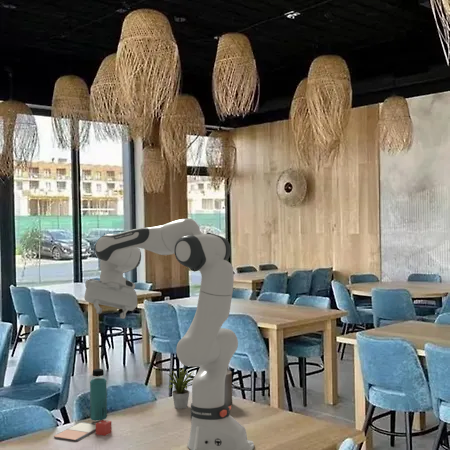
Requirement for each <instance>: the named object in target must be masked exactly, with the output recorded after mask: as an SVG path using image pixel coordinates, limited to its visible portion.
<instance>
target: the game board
mask: <svg viewBox="0 0 450 450" xmlns="http://www.w3.org/2000/svg"><path fill="white" fill-rule="evenodd" d="M94 432H95V433H96V423H92V422H85V421H80V422H78V423H76V424H74V425H73V426H71V427H68V428H66V429H65V430H63V431H60V432H59V433H56V434H55V435H54V436H53V438H56V439H62V440H68V441H74V442H79V441H81V440H83V439H84V438H86V437H88V436H90V435H92V434H93V433H94Z"/></svg>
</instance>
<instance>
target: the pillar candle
mask: <svg viewBox="0 0 450 450" xmlns="http://www.w3.org/2000/svg"><path fill="white" fill-rule="evenodd" d="M232 374H233V372H232V371H231V370H229V369H227V373H226V377H225V395H224V402H225V404H226V405H227V406H228V407H229V406H231V407H232V406H233V379H232V377H233V375H232Z"/></svg>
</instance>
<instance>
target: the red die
mask: <svg viewBox="0 0 450 450" xmlns="http://www.w3.org/2000/svg"><path fill="white" fill-rule="evenodd" d="M95 424H96V431H95V435H97V436H104V437H105V436H108V435H109V434H111V433H112V420H106V419H104V420H98V422H96V423H95Z"/></svg>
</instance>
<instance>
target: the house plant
mask: <svg viewBox="0 0 450 450" xmlns="http://www.w3.org/2000/svg"><path fill="white" fill-rule="evenodd" d="M188 371H189V369H186V370H185V369H184V368H181V366H180V367H179V370H178V375H177V374H176V372H175V371H173V370H172V371H171V372H172V373H170V372H169V374H168V373H167V374H166V373H165V374H164V375H165V376H166V375H168V376H169V377H170V380H168V382H170V383H171V384H169V386H168V388H169V389H171V388H174V390H173V391H171V392H172V399H173V405H174V408H175V409H179V410H182V408H183V409H186V407H188V404H189V397H190V390H187V389H188V387H189V386H191V387H192V382H191V381H193V379H194V377H195V376H196V373H195V374H194V372H195V370H194V371H191V372H190V373H189V374H188V375H187V376H185V375H186V374H187V373H188ZM193 375H195V376H193Z"/></svg>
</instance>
